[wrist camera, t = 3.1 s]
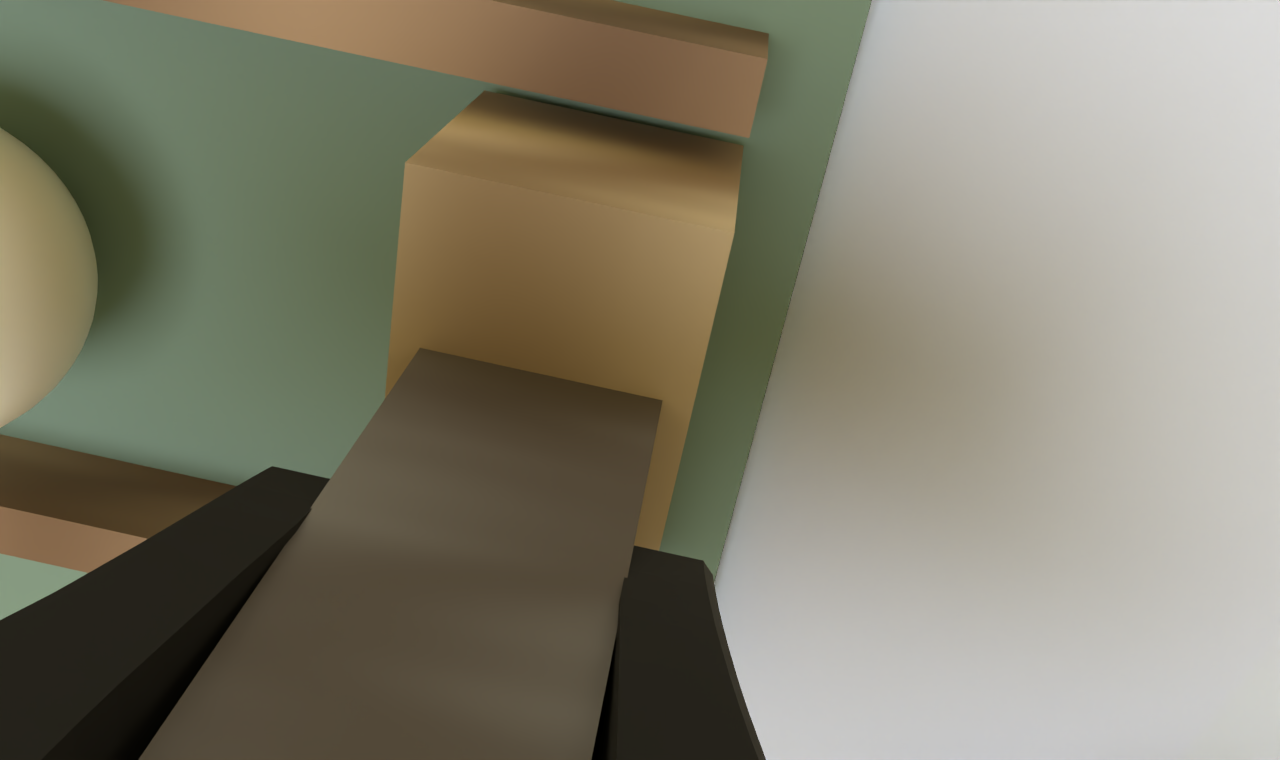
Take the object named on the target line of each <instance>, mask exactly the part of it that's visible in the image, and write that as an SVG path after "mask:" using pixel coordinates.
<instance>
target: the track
mask: <svg viewBox="0 0 1280 760" xmlns="http://www.w3.org/2000/svg"><path fill="white" fill-rule="evenodd" d="M103 1H108V2H113V3H118V4H122V5H127V6H132V7H136V8H141V9H146V10H150V11H155V12H160V13H164V14H169V15H174V16H179V17H183V18H188V19H193V20H197V21H202V22H207V23H211V24H216V25H221V26H225V27H230V28H235V29H240V30H244V31H249V32H254V33H258V34H263V35H268V36H272V37H277V38H282V39H286V40H291V41H296V42H301V43H305V44H310V45H315V46H319V47H324V48H329V49H333V50H338V51H343V52H347V53H352V54H357V55H362V56H366V57H371V58H376V59H380V60H385V61H390V62H394V63H399V64H404V65H409V66H413V67H418V68H423V69H427V70H432V71H437V72H441V73H446V74H451V75H455V76H460V77H465V78H470V79H474V80H479V81H484V82H488V83H493V84H498V85H502V86H507V87H512V88H516V89H521V90H526V91H531V92H535V93H540V94H545V95H549V96H554V97H559V98H563V99H568V100H573V101H577V102H582V103H587V104H592V105H596V106H601V107H606V108H610V109H615V110H620V111H624V112H629V113H634V114H638V115H643V116H648V117H653V118H657V119H662V120H667V121H671V122H676V123H681V124H685V125H690V126H695V127H699V128H704V129H709V130H713V131H718V132H723V133H728V134H732V135H737V136H742V137H746V138H749V137H750V133H751V128H752V124H753V120H754V116H755V111H756V107H757V103H758V99H759V94H760V90H761V86H762V81H763V77H764V73H765V69H766V64H767V60H768V39H769V33H764V32H760V31H755V30H750V29H745V28H741V27H736V26H731V25H726V24H722V23H717V22H712V21H708V20H703V19H698V18H693V17H689V16H684V15H679V14H675V13H670V12H665V11H660V10H656V9H651V8H646V7H641V6H637V5H632V4H627V3H623V2H618V1H613V0H103ZM234 487H236V486H234V485H229V484H225V483H220V482H215V481H211V480H206V479H202V478H197V477H193V476H188V475H184V474H179V473H174V472H170V471H165V470H161V469H156V468H152V467H147V466H143V465H138V464H133V463H129V462H124V461H120V460H115V459H111V458H106V457H102V456H97V455H92V454H88V453H83V452H79V451H74V450H70V449H65V448H61V447H56V446H51V445H47V444H42V443H38V442H33V441H29V440H24V439H20V438H15V437H10V436H6V435H1V434H0V554H5V555H9V556H14V557H18V558H23V559H27V560H32V561H36V562H41V563H45V564H50V565H54V566H59V567H64V568H68V569H73V570H77V571H82V572H86V573H89V572H91V571H93V570H94V569H96V568H98V567H100V566H101V565H103V564H105V563H107V562H108V561H110V560H112V559H114V558H115V557H117V556H119V555H121V554H122V553H124V552H126V551H128V550H129V549H131V548H133V547H135V546H136V545H138V544H140V543H141V542H143V541H145V540H147V539H148V538H150V537H152V536H153V535H155V534H157V533H158V532H160V531H162V530H164V529H165V528H167V527H169V526H170V525H172V524H174V523H175V522H177V521H179V520H180V519H182V518H184V517H185V516H187V515H189V514H191V513H192V512H194V511H196V510H197V509H199V508H201V507H202V506H204V505H206V504H207V503H209V502H211V501H212V500H214V499H216V498H217V497H219V496H221V495H223V494H224V493H226V492H228V491H229V490H231V489H233V488H234Z"/></svg>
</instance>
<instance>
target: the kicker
mask: <svg viewBox="0 0 1280 760" xmlns="http://www.w3.org/2000/svg"><path fill="white" fill-rule="evenodd" d="M742 156H743V145H738V144H733V143H729V142H724V141H719V140H715V139H710V138H705V137H701V136H696V135H691V134H687V133H682V132H677V131H673V130H668V129H663V128H658V127H654V126H649V125H644V124H640V123H635V122H630V121H626V120H621V119H616V118H612V117H607V116H602V115H597V114H593V113H588V112H583V111H579V110H574V109H569V108H565V107H560V106H555V105H551V104H546V103H541V102H537V101H532V100H527V99H522V98H518V97H513V96H508V95H504V94H499V93H494V92H490V91H485V90H484V91H483V92H482V93H481V94H480V95H479V96H478V97H477V98H476V99H475V100H473V101H472V102H471V103H470V104H469V105H468V106H467V107H466V108H465V109H464V110H462V111H461V112H460V113H459V114H458V115H457V116H456V117H455V118H454V119H452V120H451V121H450V122H449V123H448V124H447V125H446V126H445V127H444V128H443V129H441V130H440V131H439V132H438V133H437V134H436V135H435V136H434V137H433V138H432V139H430V140H429V141H428V142H427V143H426V144H425V145H424V146H423V147H422V148H420V149H419V150H418V151H417V152H416V153H415V154H414V155H413V156H412V157H411V158H409V159H408V160H407V161H406V162H405V169H404V181H403V193H402V204H401V216H400V227H399V239H398V251H397V262H396V274H395V285H394V297H393V309H392V320H391V332H390V343H389V355H388V367H387V378H386V390H385V400H384V401H383V402H382V404H381V405H380V407H379V408H378V410H377V411H376V413H375V414H374V416H373V417H372V419H371V420H370V422H369V423H368V424H367V426H366V427H365V429H364V430H363V432H362V433H361V435H360V436H359V438H358V439H357V441H356V442H355V443H354V445H353V446H352V448H351V449H350V451H349V452H348V454H347V455H346V457H345V458H344V460H343V461H342V462H341V464H340V465H339V467H338V468H337V470H336V471H335V473H334V474H333V476H332V477H331V479H330V480H329V482H328V483H327V484H326V486H325V487H324V489H323V490H322V492H321V493H320V495H319V496H318V498H317V499H316V501H315V502H314V503H313V505H312V506H311V511H310V512H309V514H308V515H307V517H306V518H305V520H304V521H303V523H302V524H301V526H300V527H299V529H298V530H297V532H296V533H295V534H294V535H293V536H292V538H291V539H290V540H289V541H288V542H287V543H286V545H285V546H284V547H283V549H282V550H281V552H280V553H279V555H278V556H277V558H276V559H275V561H274V562H273V563H272V565H271V566H270V568H269V569H268V571H267V572H266V574H265V575H264V577H263V578H262V580H261V581H260V582H259V584H258V585H257V587H256V588H255V590H254V591H253V593H252V594H251V596H250V597H249V599H248V600H247V601H246V603H245V604H244V606H243V607H242V609H241V610H240V612H239V613H238V615H237V616H236V618H235V619H234V621H233V622H232V623H231V625H230V626H229V628H228V629H227V631H226V632H225V634H224V635H223V637H222V638H221V640H220V641H219V642H218V644H217V645H216V647H215V648H214V650H213V651H212V653H211V654H210V656H209V657H208V659H207V660H206V661H205V663H204V664H203V666H202V667H201V669H200V670H199V672H198V673H197V675H196V676H195V678H194V679H193V681H192V682H191V683H190V685H189V686H188V688H187V689H186V691H185V692H184V694H183V695H182V697H181V698H180V700H179V701H178V702H177V704H176V705H175V707H174V708H173V710H172V711H171V713H170V714H169V716H168V717H167V719H166V720H165V721H164V723H163V724H162V726H161V727H160V729H159V730H158V732H157V733H156V735H155V736H154V738H153V739H152V741H151V742H150V743H149V745H148V746H147V748H146V749H145V751H144V752H143V754H142V755H141V757H140V758H139V760H591V759H592V754H593V749H594V744H595V739H596V734H597V729H598V724H599V719H600V714H601V709H602V704H603V699H604V693H605V688H606V683H607V678H608V673H609V668H610V663H611V658H612V653H613V648H614V643H615V638H616V633H617V626H618V610H619V601H620V596H621V591H622V586H623V581H624V577H625V578H628V573H629V568H630V563H631V557H632V552H633V547H634V545H635V546H639V547H644V548H648V549H653V550H658V551H659V549H660V545H661V540H662V536H663V532H664V528H665V523H666V519H667V515H668V511H669V507H670V502H671V498H672V494H673V490H674V486H675V481H676V477H677V473H678V469H679V465H680V460H681V456H682V452H683V448H684V443H685V439H686V435H687V431H688V427H689V422H690V418H691V414H692V410H693V406H694V401H695V397H696V393H697V389H698V385H699V380H700V376H701V372H702V368H703V363H704V359H705V355H706V351H707V347H708V342H709V338H710V334H711V330H712V326H713V321H714V317H715V313H716V309H717V305H718V300H719V296H720V292H721V288H722V283H723V279H724V275H725V271H726V267H727V262H728V258H729V254H730V250H731V246H732V241H733V237H734V233H735V223H736V214H737V204H738V194H739V185H740V175H741V165H742Z"/></svg>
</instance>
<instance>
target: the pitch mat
mask: <svg viewBox="0 0 1280 760" xmlns="http://www.w3.org/2000/svg"><path fill="white" fill-rule="evenodd" d="M613 1H618V2H623V3H627V4H632V5H637V6H641V7H646V8H651V9H656V10H660V11H665V12H670V13H675V14H679V15H684V16H689V17H693V18H698V19H703V20H708V21H712V22H717V23H722V24H726V25H731V26H736V27H741V28H745V29H750V30H755V31H760V32H764V33H769V39H768V60H767V64H766V69H765V73H764V77H763V81H762V86H761V90H760V94H759V99H758V103H757V107H756V111H755V116H754V120H753V124H752V128H751V133H750V137H749V138H746V137H742V136H737V135H732V134H728V133H723V132H718V131H713V130H709V129H704V128H699V127H695V126H690V125H685V124H681V123H676V122H671V121H667V120H662V119H657V118H653V117H648V116H643V115H638V114H634V113H629V112H624V111H620V110H615V109H610V108H606V107H601V106H596V105H592V104H587V103H582V102H577V101H573V100H568V99H563V98H559V97H554V96H549V95H545V94H540V93H535V92H531V91H526V90H521V89H516V88H512V87H507V86H502V85H498V84H493V83H488V82H484V81H479V80H474V79H470V78H465V77H460V76H455V75H451V74H446V73H441V72H437V71H432V70H427V69H423V68H418V67H413V66H409V65H404V64H399V63H394V62H390V61H385V60H380V59H376V58H371V57H366V56H362V55H357V54H352V53H347V52H343V51H338V50H333V49H329V48H324V47H319V46H315V45H310V44H305V43H301V42H296V41H291V40H286V39H282V38H277V37H272V36H268V35H263V34H258V33H254V32H249V31H244V30H240V29H235V28H230V27H225V26H221V25H216V24H211V23H207V22H202V21H197V20H193V19H188V18H183V17H179V16H174V15H169V14H164V13H160V12H155V11H150V10H146V9H141V8H136V7H132V6H127V5H122V4H118V3H113V2H108V1H103V0H0V128H2V129H3V130H5V131H6V132H8V133H9V134H11V135H12V136H14V137H15V138H16V139H18V140H19V141H21V142H22V143H24V144H25V145H26V146H27V147H29V148H30V149H31V150H32V151H33V152H35V153H36V154H37V155H38V156H39V157H40V158H41V159H42V160H43V161H44V162H45V163H46V164H47V165H48V166H49V167H50V168H51V169H52V170H53V171H54V172H55V173H56V175H57V176H58V177H59V178H60V180H61V181H62V182H63V183H64V185H65V186H66V187H67V189H68V191H69V192H70V194H71V195H72V197H73V198H74V200H75V201H76V203H77V205H78V207H79V209H80V211H81V213H82V215H83V217H84V219H85V222H86V225H87V227H88V230H89V233H90V236H91V240H92V244H93V248H94V252H95V257H96V264H97V273H98V290H97V299H96V306H95V312H94V317H93V321H92V324H91V327H90V330H89V333H88V336H87V338H86V340H85V343H84V345H83V348H82V349H81V351H80V353H79V355H78V357H77V358H76V360H75V362H74V363H73V365H72V366H71V368H70V369H69V370H68V372H67V373H66V375H65V376H64V377H63V378H62V379H61V381H60V382H59V383H58V384H57V386H56V387H55V388H54V389H53V390H52V391H51V392H49V393H48V394H47V395H46V396H45V397H44V398H43V399H42V400H41V401H40V402H38V403H37V404H36V405H35V406H34V407H33V408H31V409H30V410H28V411H27V412H25V413H24V414H22V415H21V416H19V417H18V418H16V419H14V420H13V421H11V422H9V423H8V424H6V425H4V426H3V427H1V428H0V434H1V435H6V436H10V437H15V438H20V439H24V440H29V441H33V442H38V443H42V444H47V445H51V446H56V447H61V448H65V449H70V450H74V451H79V452H83V453H88V454H92V455H97V456H102V457H106V458H111V459H115V460H120V461H124V462H129V463H133V464H138V465H143V466H147V467H152V468H156V469H161V470H165V471H170V472H174V473H179V474H184V475H188V476H193V477H197V478H202V479H206V480H211V481H215V482H220V483H225V484H229V485H234V486H238V485H239V484H241V483H243V482H245V481H246V480H248V479H250V478H251V477H253V476H255V475H257V474H259V473H260V472H262V471H264V470H266V469H268V468H269V467H271V466H274V467H279V468H283V469H288V470H292V471H297V472H302V473H306V474H311V475H315V476H320V477H324V478H329V479H331V477H332V476H333V474H334V473H335V471H336V470H337V468H338V467H339V465H340V464H341V462H342V461H343V460H344V458H345V457H346V455H347V454H348V452H349V451H350V449H351V448H352V446H353V445H354V443H355V442H356V441H357V439H358V438H359V436H360V435H361V433H362V432H363V430H364V429H365V427H366V426H367V424H368V423H369V422H370V420H371V419H372V417H373V416H374V414H375V413H376V411H377V410H378V408H379V407H380V405H381V404H382V402H383V401H384V400H385V390H386V378H387V367H388V355H389V343H390V332H391V320H392V309H393V297H394V285H395V274H396V262H397V251H398V239H399V227H400V216H401V204H402V193H403V181H404V169H405V162H406V161H407V160H408V159H409V158H411V157H412V156H413V155H414V154H415V153H416V152H417V151H418V150H419V149H420V148H422V147H423V146H424V145H425V144H426V143H427V142H428V141H429V140H430V139H432V138H433V137H434V136H435V135H436V134H437V133H438V132H439V131H440V130H441V129H443V128H444V127H445V126H446V125H447V124H448V123H449V122H450V121H451V120H452V119H454V118H455V117H456V116H457V115H458V114H459V113H460V112H461V111H462V110H464V109H465V108H466V107H467V106H468V105H469V104H470V103H471V102H472V101H473V100H475V99H476V98H477V97H478V96H479V95H480V94H481V93H482V92H483V91H484V90H485V91H490V92H494V93H499V94H504V95H508V96H513V97H518V98H522V99H527V100H532V101H537V102H541V103H546V104H551V105H555V106H560V107H565V108H569V109H574V110H579V111H583V112H588V113H593V114H597V115H602V116H607V117H612V118H616V119H621V120H626V121H630V122H635V123H640V124H644V125H649V126H654V127H658V128H663V129H668V130H673V131H677V132H682V133H687V134H691V135H696V136H701V137H705V138H710V139H715V140H719V141H724V142H729V143H733V144H738V145H743V156H742V165H741V175H740V185H739V194H738V204H737V214H736V223H735V233H734V237H733V241H732V246H731V250H730V254H729V258H728V262H727V267H726V271H725V275H724V279H723V283H722V288H721V292H720V296H719V300H718V305H717V309H716V313H715V317H714V321H713V326H712V330H711V334H710V338H709V342H708V347H707V351H706V355H705V359H704V363H703V368H702V372H701V376H700V380H699V385H698V389H697V393H696V397H695V401H694V406H693V410H692V414H691V418H690V422H689V427H688V431H687V435H686V439H685V443H684V448H683V452H682V456H681V460H680V465H679V469H678V473H677V477H676V481H675V486H674V490H673V494H672V498H671V502H670V507H669V511H668V515H667V519H666V523H665V528H664V532H663V536H662V540H661V545H660V549H659V551H662V552H667V553H671V554H676V555H680V556H685V557H689V558H694V559H699V560H703V561H704V562H705V564H706V565H707V567H708V568H709V570H710V571H711V573H712V574H713V579H714V580H715V577H716V573H717V569H718V566H719V562H720V558H721V554H722V551H723V547H724V543H725V540H726V536H727V532H728V529H729V525H730V521H731V518H732V514H733V510H734V506H735V503H736V499H737V495H738V492H739V488H740V484H741V481H742V477H743V473H744V470H745V466H746V462H747V458H748V455H749V451H750V447H751V444H752V440H753V436H754V433H755V429H756V425H757V422H758V418H759V414H760V411H761V407H762V403H763V399H764V396H765V392H766V388H767V385H768V381H769V377H770V374H771V370H772V366H773V363H774V359H775V355H776V351H777V348H778V344H779V340H780V337H781V333H782V329H783V326H784V322H785V318H786V315H787V311H788V307H789V303H790V300H791V296H792V292H793V289H794V285H795V281H796V278H797V274H798V270H799V267H800V263H801V259H802V255H803V252H804V248H805V244H806V241H807V237H808V233H809V230H810V226H811V222H812V219H813V215H814V211H815V208H816V204H817V200H818V196H819V193H820V189H821V185H822V182H823V178H824V174H825V171H826V167H827V163H828V160H829V156H830V152H831V148H832V145H833V141H834V137H835V134H836V130H837V126H838V123H839V119H840V115H841V112H842V108H843V104H844V100H845V97H846V93H847V89H848V86H849V82H850V78H851V75H852V71H853V67H854V64H855V60H856V56H857V52H858V49H859V45H860V41H861V38H862V34H863V30H864V27H865V23H866V19H867V16H868V12H869V8H870V5H871V1H872V0H613ZM86 574H87V573H86V572H82V571H77V570H73V569H68V568H64V567H59V566H54V565H50V564H45V563H41V562H36V561H32V560H27V559H23V558H18V557H14V556H9V555H5V554H0V620H2V619H3V618H5V617H7V616H9V615H11V614H13V613H15V612H17V611H19V610H21V609H23V608H25V607H27V606H29V605H31V604H33V603H34V602H36V601H38V600H40V599H42V598H44V597H46V596H48V595H50V594H52V593H54V592H56V591H57V590H59V589H61V588H63V587H64V586H66V585H68V584H70V583H71V582H73V581H75V580H77V579H79V578H80V577H82V576H84V575H86Z"/></svg>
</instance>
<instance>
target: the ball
mask: <svg viewBox="0 0 1280 760" xmlns="http://www.w3.org/2000/svg"><path fill="white" fill-rule="evenodd" d="M97 290H98V273H97V264H96V257H95V252H94V248H93V244H92V240H91V236H90V233H89V230H88V227H87V225H86V222H85V219H84V217H83V215H82V213H81V211H80V209H79V207H78V205H77V203H76V201H75V200H74V198H73V197H72V195H71V194H70V192H69V191H68V189H67V187H66V186H65V185H64V183H63V182H62V181H61V180H60V178H59V177H58V176H57V175H56V173H55V172H54V171H53V170H52V169H51V168H50V167H49V166H48V165H47V164H46V163H45V162H44V161H43V160H42V159H41V158H40V157H39V156H38V155H37V154H36V153H35V152H33V151H32V150H31V149H30V148H29V147H27V146H26V145H25V144H24V143H22V142H21V141H19V140H18V139H16V138H15V137H14V136H12V135H11V134H9V133H8V132H6V131H5V130H3V129H2V128H0V428H1V427H3V426H4V425H6V424H8V423H9V422H11V421H13V420H14V419H16V418H18V417H19V416H21V415H22V414H24V413H25V412H27V411H28V410H30V409H31V408H33V407H34V406H35V405H36V404H37V403H38V402H40V401H41V400H42V399H43V398H44V397H45V396H46V395H47V394H48V393H49V392H51V391H52V390H53V389H54V388H55V387H56V386H57V384H58V383H59V382H60V381H61V379H62V378H63V377H64V376H65V375H66V373H67V372H68V370H69V369H70V368H71V366H72V365H73V363H74V362H75V360H76V358H77V357H78V355H79V353H80V351H81V349H82V348H83V345H84V343H85V340H86V338H87V336H88V333H89V330H90V327H91V324H92V321H93V317H94V312H95V306H96V299H97Z"/></svg>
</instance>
